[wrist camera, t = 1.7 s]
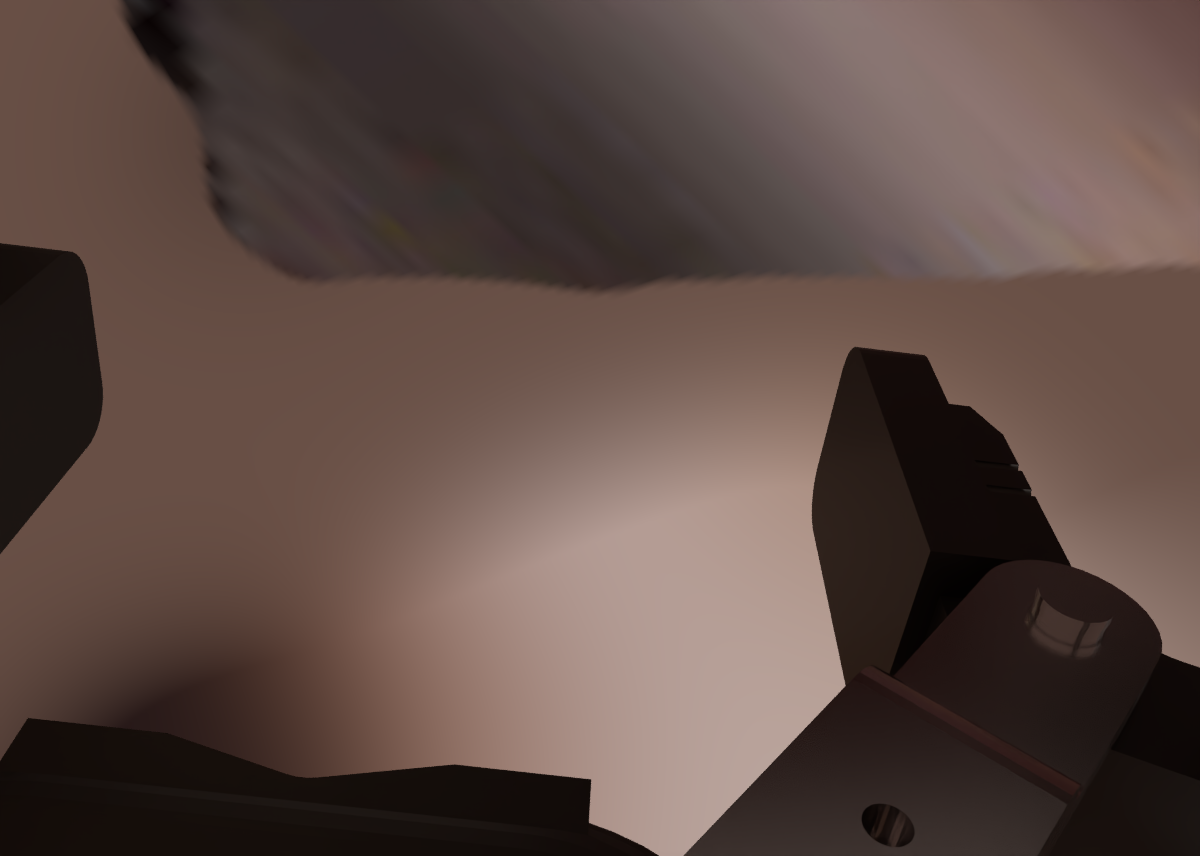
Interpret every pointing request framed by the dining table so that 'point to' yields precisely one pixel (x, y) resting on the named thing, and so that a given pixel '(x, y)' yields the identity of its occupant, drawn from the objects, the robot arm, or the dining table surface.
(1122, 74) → the dining table surface
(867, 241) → the dining table surface
